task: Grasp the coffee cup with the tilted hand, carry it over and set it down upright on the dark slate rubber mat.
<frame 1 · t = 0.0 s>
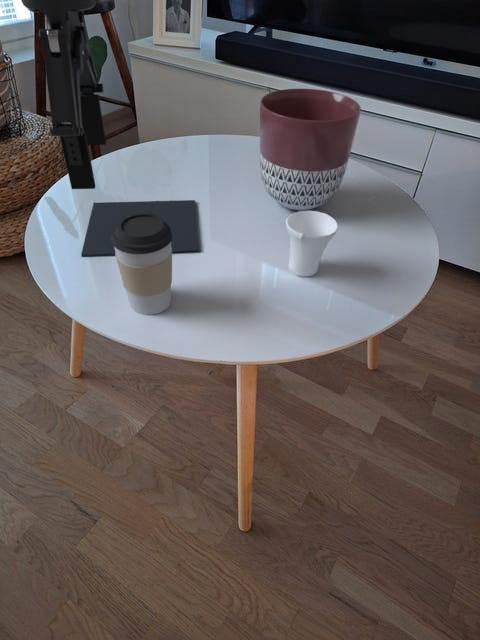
hand: (90, 164, 61), 24 cm above the table, tool pointing down, fingers open, 13 cm apart
cup: (304, 270, 86), on the table
planter: (297, 204, 104), on the table
coffee cup: (150, 302, 77), on the table
mat: (143, 226, 95), on the table
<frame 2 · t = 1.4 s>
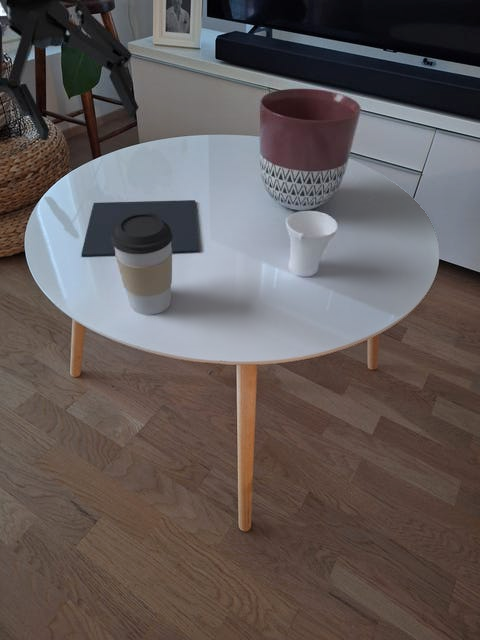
hand: (92, 123, 66), 26 cm above the table, tool tilted 45°, fingers open, 13 cm apart
nothing on the table moved.
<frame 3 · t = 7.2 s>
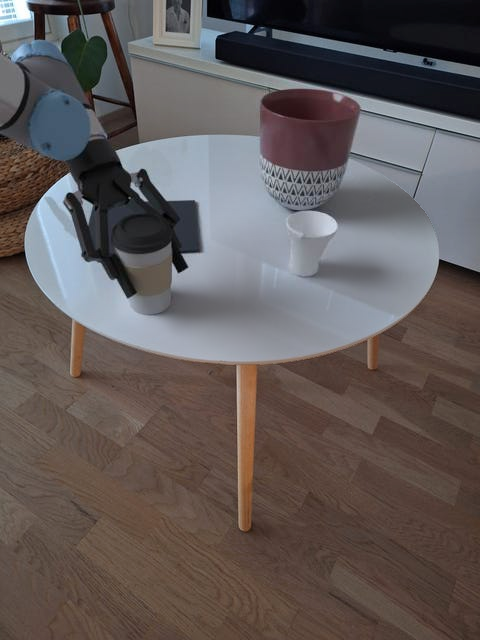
hand: (158, 282, 72), 6 cm above the table, tool tilted 45°, fingers closed on coffee cup, 9 cm apart
coffee cup: (150, 302, 77), on the table, touching gripper
everything else where it was.
when the fingers open (6 cm above the table, at t = 16.7 s): coffee cup stays where it is, resting on mat.
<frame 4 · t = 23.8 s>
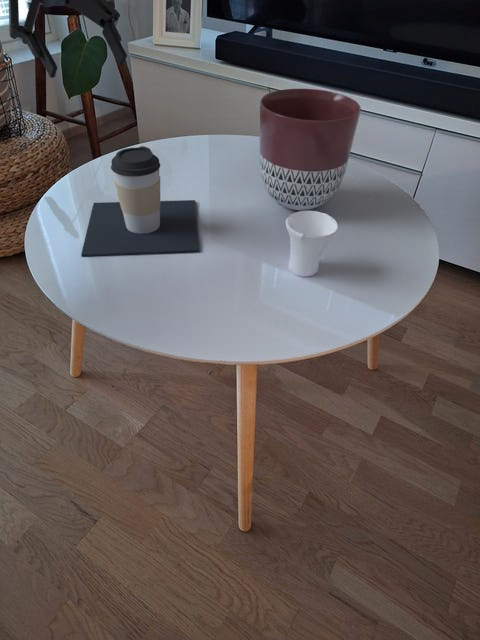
hand: (90, 66, 81), 28 cm above the table, tool tilted 45°, fingers open, 13 cm apart
coffee cup: (143, 225, 94), resting on mat
everything else where it was.
at the end: coffee cup inside the target area on the mat (0.0 cm from its centre), point 0.3 cm above the mat's base; coffee cup tilted 0°; coffee cup moved 24.1 cm from its start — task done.
